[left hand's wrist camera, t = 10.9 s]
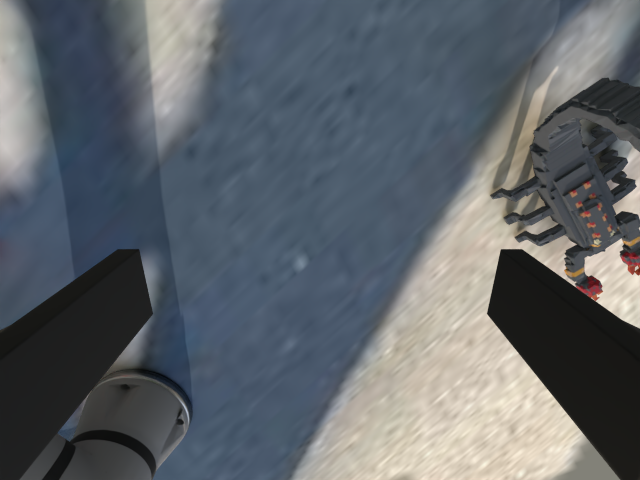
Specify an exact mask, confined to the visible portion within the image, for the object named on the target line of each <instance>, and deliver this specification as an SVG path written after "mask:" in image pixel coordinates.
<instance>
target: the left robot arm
mask: <svg viewBox="0 0 640 480" xmlns="http://www.w3.org/2000/svg"><path fill="white" fill-rule="evenodd" d="M152 314H153V312H152V307H151V303H150V298H149V293H148V289H147V284H146V279H145V275H144V270H143V265H142V261H141V256H140V251H139V249H118V250H116V251H115V252H113V253H112V254H111V255H109V256H108V257H106V258H105V259H104V260H102V261H101V262H99V263H98V264H97V265H95V266H94V267H92V268H91V269H90V270H88V271H87V272H85V273H84V274H82V275H81V276H80V277H78V278H77V279H75V280H74V281H73V282H71V283H70V284H68V285H67V286H66V287H64V288H63V289H61V290H60V291H58V292H57V293H56V294H54V295H53V296H51V297H50V298H49V299H47V300H46V301H44V302H43V303H42V304H40V305H39V306H37V307H36V308H34V309H33V310H32V311H30V312H29V313H27V314H26V315H25V316H23V317H22V318H20V319H19V320H18V321H16V322H15V323H13V324H12V325H10V326H8V327H6V328H4V329H2V330H0V480H152V479H153V477H154V474H155V472H156V470H157V469H158V468H159V466H160V465H161V464H162V463H163V462H164V460H165V459H166V458H167V457H168V456H169V455H170V453H171V452H172V451H173V450H174V449H175V447H176V446H177V445H178V444H179V443H180V442H181V440H182V439H183V438H184V436H185V435H186V433H187V430H188V428H189V425H190V423H191V420H192V406H191V403H190V401H189V399H188V397H187V395H186V394H185V393H184V391H183V390H182V389H181V388H180V387H179V386H178V385H176V384H175V383H174V382H172V381H171V380H169V379H167V378H165V377H163V376H161V375H159V374H156V373H153V372H149V371H144V370H122V371H118V372H114V373H112V374H110V375H108V376H106V377H105V378H103V379H102V380H101V381H100V382H99V380H100V379H101V378H102V377H103V375H104V374H105V373H106V372H107V370H108V369H109V368H110V367H111V365H112V364H113V363H114V362H115V360H116V359H117V358H118V357H119V355H120V354H121V353H122V352H123V350H124V349H125V348H126V347H127V345H128V344H129V343H130V342H131V341H132V339H133V338H134V337H135V336H136V334H137V333H138V332H139V331H140V329H141V328H142V327H143V326H144V324H145V323H146V322H147V321H148V319H149V318H150V317H151V316H152ZM487 314H488V316H489V317H490V318H491V319H492V321H493V322H494V323H495V324H496V326H497V327H498V328H499V329H500V331H501V332H502V333H503V334H504V336H505V337H506V338H507V339H508V341H509V342H510V343H511V344H512V345H513V347H514V348H515V349H516V350H517V352H518V353H519V354H520V355H521V357H522V358H523V359H524V360H525V362H526V363H527V364H528V365H529V367H530V368H531V369H532V370H533V372H534V373H535V374H536V375H537V377H538V378H539V379H540V380H541V382H542V383H543V384H544V385H545V387H546V388H547V389H548V390H549V392H550V393H551V394H552V395H553V396H554V398H555V399H556V400H557V401H558V403H559V404H560V405H561V406H562V408H563V409H564V410H565V411H566V413H567V414H568V415H569V416H570V418H571V419H572V420H573V421H574V423H575V424H576V425H577V426H578V428H579V429H580V430H581V431H582V433H583V434H584V435H585V436H586V438H587V439H588V440H589V441H590V442H591V444H592V445H593V446H594V447H595V449H596V450H597V451H598V452H599V454H600V455H601V456H602V457H603V459H604V460H605V461H606V462H607V464H608V465H609V466H610V467H611V469H612V470H613V471H614V472H615V474H616V475H617V476H618V477H619V479H620V480H640V329H639V328H637V327H635V326H633V325H631V324H629V323H627V322H625V321H623V320H621V319H620V318H618V317H617V316H615V315H614V314H613V313H611V312H610V311H608V310H607V309H606V308H604V307H603V306H601V305H600V304H598V303H597V302H596V301H594V300H593V299H591V298H590V297H589V296H587V295H586V294H584V293H583V292H582V291H580V290H579V289H577V288H576V287H574V286H573V285H572V284H570V283H569V282H567V281H566V280H565V279H563V278H562V277H560V276H559V275H558V274H556V273H555V272H553V271H552V270H550V269H549V268H548V267H546V266H545V265H543V264H542V263H541V262H539V261H538V260H536V259H535V258H534V257H532V256H531V255H529V254H528V253H527V252H525V251H524V250H522V249H501V251H500V256H499V261H498V265H497V270H496V275H495V279H494V284H493V289H492V293H491V298H490V303H489V307H488V312H487ZM98 382H99V383H98ZM97 383H98V384H97ZM96 384H97V385H96ZM95 385H96V387H95ZM94 387H95V388H94ZM93 388H94V389H93ZM92 389H93V390H92ZM91 390H92V392H91ZM90 392H91V393H90ZM89 393H90V394H89ZM88 394H89V396H88V398H87V401H86V403H85V406H84V409H83V412H82V414H81V417H80V420H79V423H78V426H77V429H76V431H75V434H74V437H73V439H72V440H71V441H70V442H69V441H67V440H66V439H65V438H63V437H62V436H60V435H59V434H57V433H58V431H59V430H60V429H61V428H62V426H63V425H64V424H65V423H66V421H67V420H68V419H69V418H70V416H71V415H72V414H73V413H74V411H75V410H76V409H77V408H78V406H79V405H80V404H81V403H82V401H83V400H84V399H85V398H86V396H87V395H88Z"/></svg>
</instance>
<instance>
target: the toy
mask: <svg viewBox="0 0 640 480" xmlns="http://www.w3.org/2000/svg"><path fill="white" fill-rule="evenodd" d="M581 119H587V120H590V121H593V122H594V123H597V124H599V125H598V126H597V127H595V128H594V129H592V130H591V132H592V134H593V135H592V136H594V137H595V138H597V140H595V141H594V142H593V143H592V144H590V145H589V146H586V145H584V144H582V136H581V133H580V131H581V128H580V126H581V124H580V122H579V120H581ZM608 129H610V130H611V131H612V132H607V131H608ZM533 134H534V136H535V137H534V140H533V141H534V143H533V144H532V145H530V151H531V156H532V159H533V163H534V164H533V169H534V173H535V177H533V178H532V179H530V180H529V181H527V182H526V183H524V184H522V185H520V186H519V187H517V188H515V189H513V190H505V189H503V188H501V189H499V190H498V191H496V192H495V193H493V194H492V195H490V196H491V197H492V199H496V198H501V197H505V198H507V199H509V200H512V201H515V202H516V201H518V200H519V199H521V198H522V197H524V196H525V195H526V196H528V195H530V194H531V193H533V192H534V191H536V190H537V191H538V193H539V195H540V197H541V199H542V200H543V201H544V203H545V206H544V207H541V208H539V209H537V210H535V211H534V212H532V213H530V214H528V215H526V216H525V215H522V216H521V215H519V214H518V213H514V212H512V213H510V214H509V215H507V216H505V217H504V220H505V221H506V223H507V224H509V225H510V224H512V223H514V222H517V221H518V222H522V223H523V224H526V225H533V224H535V223H537V222H538V221H540V220H542V219H544V218H545V217H547V216H551V218H552V220H553V221H555V222H557V223H559V224H558V225H556V226H555V227H553V228H551V229H548V230H546V231H544V232H542V233H540V234H538V235H535V234H531V233H529V232H527V231H524V232H523V233H521V234H519V235H518V236H516V237H515V239H516V240H517V241H518V242H522V241H524V240H529V241H531V242H532V243H534V244H536V245H538V246H543V245H545V244H547V243H549V242H551V241H553V240H555V239H557V238H559V237H561V236H563V235H566V236H568V238H569V239H570V240H571V241H572V242H574V243H576V244H577V245H575V246H573V247H572V248H570V249H568V250H566V253H565V255H566V256H567V257H566V258H564V260H565V262H566V264H565V266H566V269H565V270H564V271H565V273H566V275H567V276H568V278H570V279H571V280H573V281H574V282H575V281H576V282H577V283H575V285H576V287H577V289H579V290H580V291H582V292H583V293H584V294H586V295H588V296H589V297H590V298H591V297H592V298H593V299H594V300H595V301H596V300H597V299H598V298H600V297H598V298H597V295H596V294H598V295H599V294H600V293H602V292H603V291H602V289H601V288H602V285H601V283H600V281H599V280H597V279H596V278H594V277H593V276H589V277H588V276H587V275H586V274H585V272H584V262H585V260H584V258H585V257H587V256H592V255H594V254H597V253H599V252H601V251H605V249H606V248H607V247H609V246H610V245H612V244H613V243H615V242H616V241H618V240H619V239H621V238H622V241H623V243H624V245H623V246H622V247H623V249H624V250H622V251H620V253H621V254H620V256H621V259H622V261H623V262H624V263H626V264H627V265H628V271H629V272H630V273H631V274H632V275H633V274H634V272H635V273H636V274H637V275H638V276H639V275H640V231H639V227H640V219H639V216H638V215H637V214H633V213H630V212H624V211H622V212H620V213H619V214H617V215H616V213H615V211H614V208H613V206H612V205H613V204H615V203H616V202H618V201H619V200H621V199H622V198H623V197H625V196H626V195H627V194H629V193H630V192H631V191H633V190H634V189H635V188H636V187H637V186H636V185H635V180H633V179H629V178H626V176H627V175H626V174H625V172H623V171H621V170H623V169H624V167H625V166H626V165H627V163H628V161H627V159H626V158H623V157H617V155H618V151H616V150H611V151H609V152H608V153H606V154H605V155H603V156H601V157H600V160H601V162H605V163H609V164H608V165H606V166H605V167H603V168H602V169H601V170H599V168H598V165H597V163H596V161H595V159H594V158H593V156H594V155H596V154H597V153H599V152H600V151H602V150H603V149H605V148H606V147H608V146H609V145H610V144H612V143H613V142H615V141H616V140H617V138H616V136H617V137H618V138H619V139H620V140H625V141H629V142H630V143H631V144H632V145H633V147H634V148H635V149H637V150H638V151H639V152H640V87H633V86H630V85H629V84H627V83H623V82H621V81H619V80H612V81H610V80H609V78H602V79H601V80H599V81H598V82H596V83H595V84H593V85H592V86H590V87H589V88H587V89H586V90H583V91H582V92H580V93H579V94H577V95H576V96H574V97H573V98H571V99H570V100H568V101H567V102H565V103H564V104H562V105H561V106H559V107H558V108H557V109H556V110H555V111H553V113H551V114H550V116H548V118H546V119H545V122H544V123H543V124H542V125H541V126H540V127H539V128H537V129H536V130H534V133H533ZM609 180H612V181H613V182H614V183H617V184H620V185H618V186H617V187H615V188H614V189H613V190H611V191H610V189H609V187H608V185H607V183H606V182H607V181H609ZM615 215H616V216H615ZM637 265H638V267H639V269H637V270H636V271H635V267H636V266H637Z"/></svg>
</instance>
